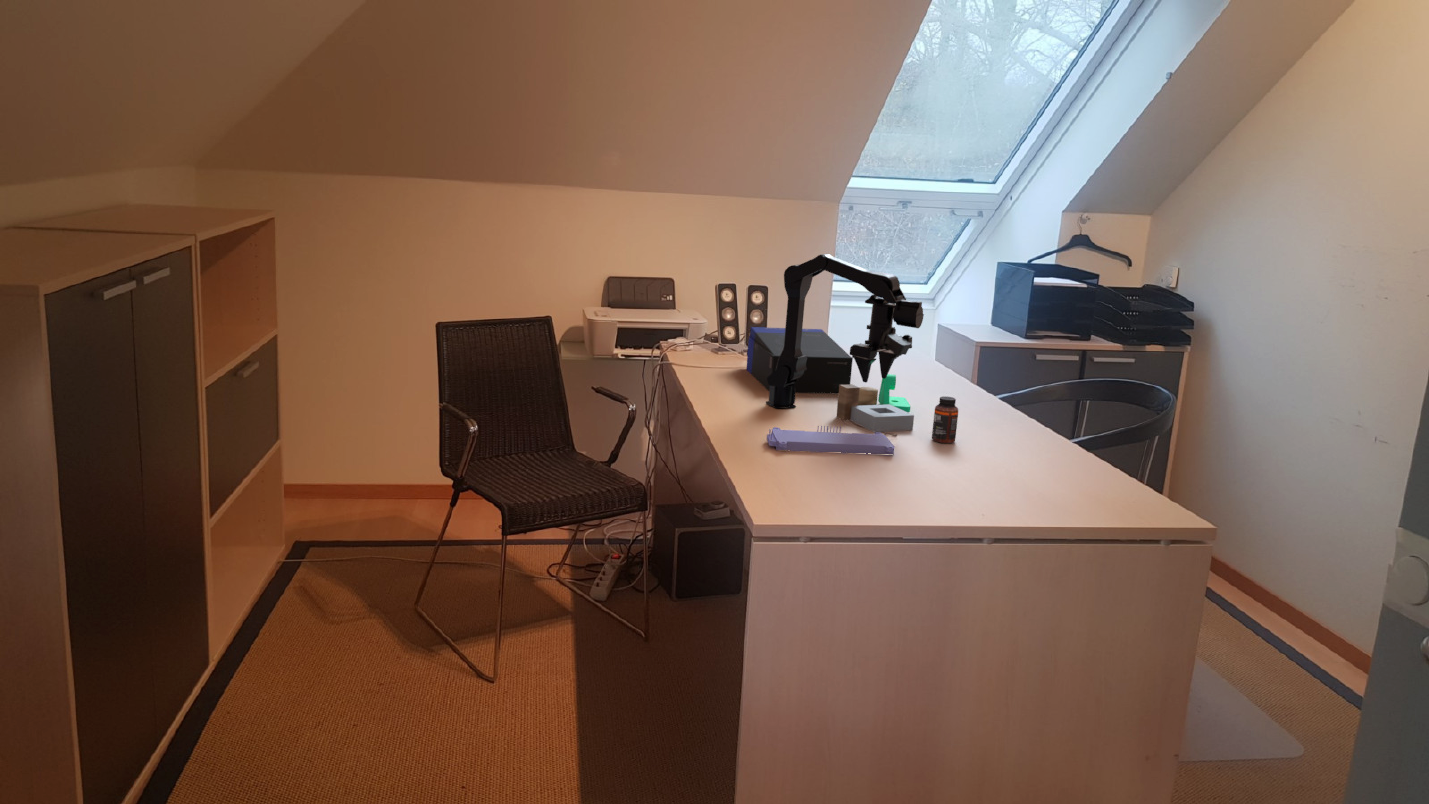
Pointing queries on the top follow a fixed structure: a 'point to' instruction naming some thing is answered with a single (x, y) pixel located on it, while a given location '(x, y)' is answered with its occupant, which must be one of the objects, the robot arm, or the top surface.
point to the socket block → (882, 418)
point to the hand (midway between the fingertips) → (874, 380)
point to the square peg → (847, 400)
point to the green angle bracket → (885, 399)
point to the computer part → (829, 441)
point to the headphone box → (823, 354)
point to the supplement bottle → (945, 420)
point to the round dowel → (867, 396)
